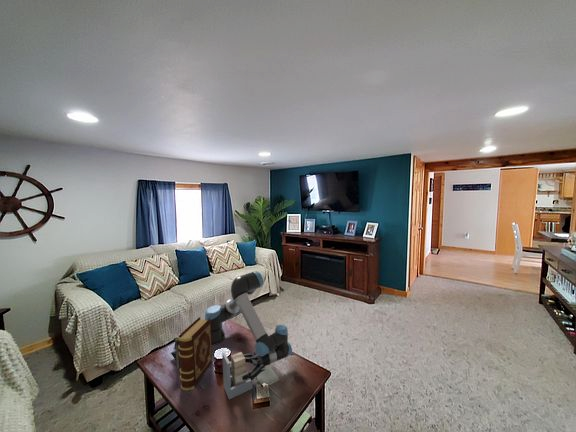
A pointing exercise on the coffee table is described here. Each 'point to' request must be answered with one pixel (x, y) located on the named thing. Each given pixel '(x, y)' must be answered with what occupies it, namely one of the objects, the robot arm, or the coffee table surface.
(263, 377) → the sage tile
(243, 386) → the slot rack
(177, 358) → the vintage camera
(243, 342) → the coffee table surface
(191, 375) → the decorative book
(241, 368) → the block
